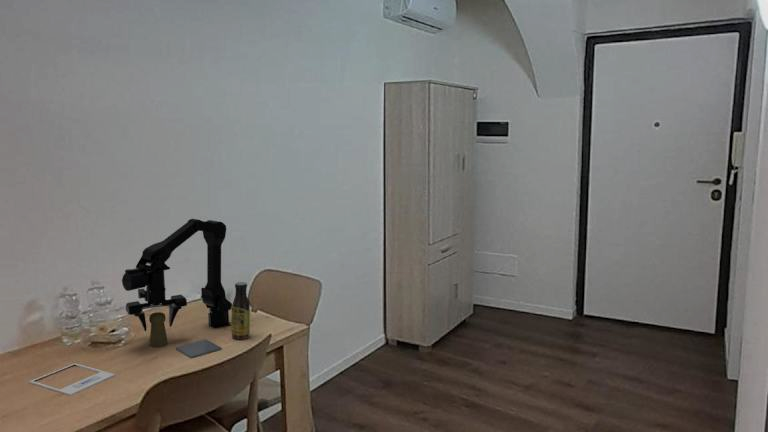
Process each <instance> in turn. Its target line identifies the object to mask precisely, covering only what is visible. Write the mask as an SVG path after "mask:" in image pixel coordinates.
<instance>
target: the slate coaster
mask: <svg viewBox="0 0 768 432" xmlns="http://www.w3.org/2000/svg"><path fill="white" fill-rule="evenodd" d="M175 350H176V351H178V352H180V353H182V354H183V355H185V356H186V357H188V358H190V359H193V358H194V359H195V358H197V357H201V356H204V355H208V354H210V353H214V352H218V351H221V350H223V347H221V346H220V345H218V344H216V343H214V342H212V341H210V340H209V339H206V338H205V339H202V340H201V339H200V340H196V341H194V342H190V343H187V344H186V343H185V344H183V345H178V346H176V347H175Z"/></svg>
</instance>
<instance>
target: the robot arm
mask: <svg viewBox="0 0 768 432" xmlns="http://www.w3.org/2000/svg"><path fill="white" fill-rule="evenodd" d="M199 231H200V232H202V236H203V239H204V241H205V243H206V248H207V249H206V251H207V259H206V260H207V261H206V263H207V265H206V267H207V269H206V270H207V271H206V272H207V275H206V276H207V278H206V279H207V280H206V281H207V283H206V285H205V286H204V287H201V297H200V299H202V303H204V304H205V307H206V308H207V309H209V312H208V313H207V315H208V321H207V322H208V325H210V326H211V327H212V328H213V329H215V328H217V329H218V328H222V327H226V326H227V327H228V326H232V323H231V322H230V321H229V320H230V318H229V316H230V315H229V314H230V313H229V311H230V310H231V311H232V305H233V302H231V301H230V300H229V299H227V296H226V290H225V289H224V286H223V283H222V244H223V242H224V241H225V239H226V234H227V225H226V224H225V223H224V222H222V221H217V220H212V219H208V220H206V221H203V220H201V219H197V218H191V219H188V221H187V222H186V223H184V224H183V225H182V226H180V227H179V228H178V229H177V230H175V231H174V232H173V233H171V234H170V235H168V236H167V237H166V238H165V239H163V240H161V241H159V242H155V243H153V244H151V245H149V246H148V247H146V248H144V249H143V250H142V255H141V257H140V259H139V261H138V262H137V264H136V265H135V268H133V269H131V268H130V269H129V268H128V269H125V270H124V273H123V275H122V279H121V283H122V286H123V289H124V290H125V291H127V292H129V291H133V290H137V292H138V293H137V296H138V299H144V301H145V302H144V303H143V302H142V303H141V302H140V301H137V300H136V301H131V302H129V301H128V302H126V304H125V312H126V313H127V315H129V316H132V315H134V317H137V318H138V319H139V321H140V324H141V326H142V327H143V330H144V332H147V320H146V314H145V312H144V311H143V310H146V309H147V310H148V309H153V308H159V307H165V306H168V309H169V312H168V316H169V317H168V323H169V324H168V325H169V328H171V327H172V325H173V323H174V321H175V318H176V316H177V314H178V312H179V311H180V310H182V307H186V306H188V301H187V298H186V297H185V296H184V295H182V294H177V295H176V294H175V295H171V296H170V298H169V299H166V283H165V282H166V281H165V271H169V270H170V269H171V267H170V266H168V265H167V264H166V262H167V261H168V260H169V259H170V257H171V255H172V254H173V252H174V251H175V250H176V249H177V248H179V247H181V245H182V244H183V243H185V242H186V241H187V240H189V239H190V238H191V237H192V236H193V235H194V234H196V233H197V232H199ZM145 288H146V289H145Z"/></svg>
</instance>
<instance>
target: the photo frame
mask: <svg viewBox="0 0 768 432" xmlns="http://www.w3.org/2000/svg"><path fill="white" fill-rule="evenodd" d="M73 366H75V367H77V368H81V369H83V370H87V369H88V371H91V370H92V371H91V372H94V371H96V372H95V374H92V375H91V376H87V377H85V378H83V379H81V380H79V381H77V382H74V383H72V384H69V385H67V386H65V387H63V388H60V389H59V388H56V387H54V386H50V385H47V384H43V383H40V382H37V381H38V380H40V379H43V378H45V377H48V376H50V375H53V374H55V373H58V372H61V371H63V370H66V369H68V368H70V367H73ZM98 372H99V373H98ZM113 376H114V377H116V374H115V373H111V372H108V371H105V370H100V369H97V368H93V367H89V366H87V365H83V364H79V363H71V364H69V365H67V366H65V367H64V366H63V367H61V368H60V369H56V370H55V371H52V372H49V373H47V374H45V375H41V376H39V377H37V378H35V379H30V381H28V383H29V384H31V385H35V386H38V387H40V388H43V387H44V389H47V390H50V389H51V390H50V391H53V390H54V391H53V392H56V391H58V392H57V393H59V392H61V393H60V394H62V393H64V394H63V395H66V394H67V395H66V396H69V395H72V396H73V394H74V395H76V394H79V393H80V392H79V391H81V392H83V391H85V390H87V389H86V388H88V389H90V388H92V387H94V386H97V385H99V384H101V383H103V382H106V381H107V379H108V380H110V379H111V377H112V378H114V377H113ZM109 378H110V379H109ZM100 382H101V383H100ZM98 383H99V384H98ZM93 385H94V386H93ZM91 386H92V387H91ZM89 387H90V388H89ZM84 389H85V390H84ZM82 390H83V391H82ZM78 392H79V393H78ZM75 393H76V394H75Z"/></svg>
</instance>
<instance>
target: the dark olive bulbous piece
mask: <svg viewBox="0 0 768 432" xmlns="http://www.w3.org/2000/svg"><path fill="white" fill-rule="evenodd" d="M148 319H149V323H150V334H149V347H150V348H155V349H156V348H163V347H165V346H167V345H168V344H169V340H168V337H167V330H166V326H165V322H166V314H165V313H164V312H159V311H158V312H154V313H151V314H150V315H149V317H148Z"/></svg>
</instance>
